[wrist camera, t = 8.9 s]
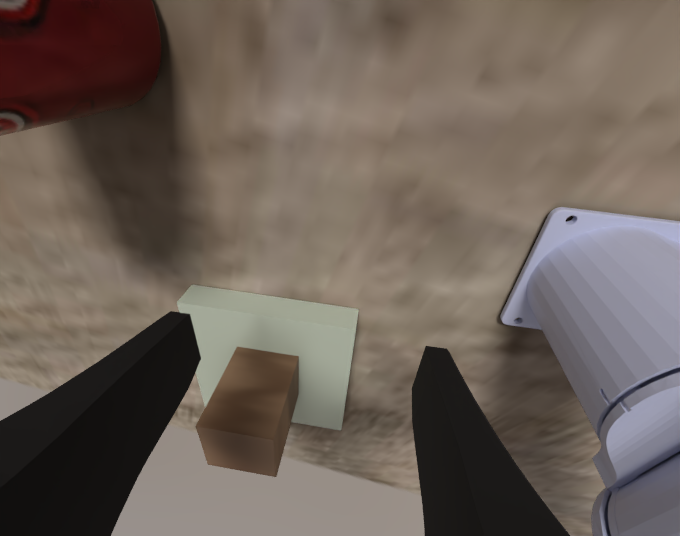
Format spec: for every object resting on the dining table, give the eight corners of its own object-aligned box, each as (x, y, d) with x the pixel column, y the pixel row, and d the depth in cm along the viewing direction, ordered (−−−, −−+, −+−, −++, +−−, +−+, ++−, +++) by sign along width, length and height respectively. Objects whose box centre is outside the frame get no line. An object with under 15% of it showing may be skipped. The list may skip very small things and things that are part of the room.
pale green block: (358, 309, 23) (355, 329, 21) (344, 409, 29) (341, 430, 28) (191, 284, 23) (176, 302, 22) (215, 387, 30) (205, 407, 29)
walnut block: (298, 356, 23) (273, 440, 18) (298, 394, 26) (276, 477, 21) (237, 346, 24) (195, 426, 19) (242, 385, 26) (207, 464, 21)
